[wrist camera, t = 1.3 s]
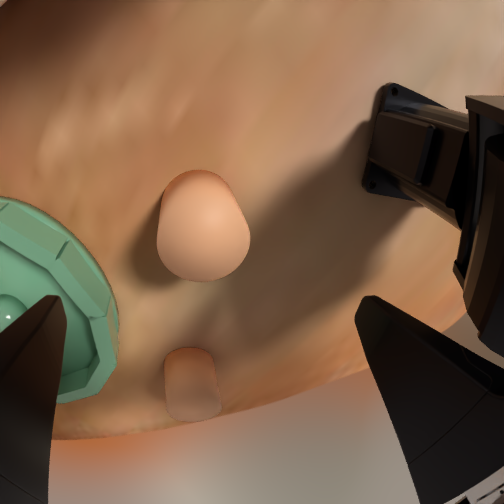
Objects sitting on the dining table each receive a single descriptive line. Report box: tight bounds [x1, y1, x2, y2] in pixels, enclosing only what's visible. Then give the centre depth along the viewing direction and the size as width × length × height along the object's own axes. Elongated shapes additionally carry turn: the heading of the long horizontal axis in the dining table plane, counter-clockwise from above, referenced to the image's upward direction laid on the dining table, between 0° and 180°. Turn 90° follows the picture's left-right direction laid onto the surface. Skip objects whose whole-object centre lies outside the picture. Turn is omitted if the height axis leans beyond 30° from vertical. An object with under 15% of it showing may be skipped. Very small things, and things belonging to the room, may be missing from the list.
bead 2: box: [164, 347, 222, 422], centre depth 19 cm, size 4×4×4 cm
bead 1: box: [157, 170, 250, 282], centre depth 13 cm, size 4×4×4 cm
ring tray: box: [0, 196, 119, 404], centre depth 14 cm, size 15×15×3 cm
